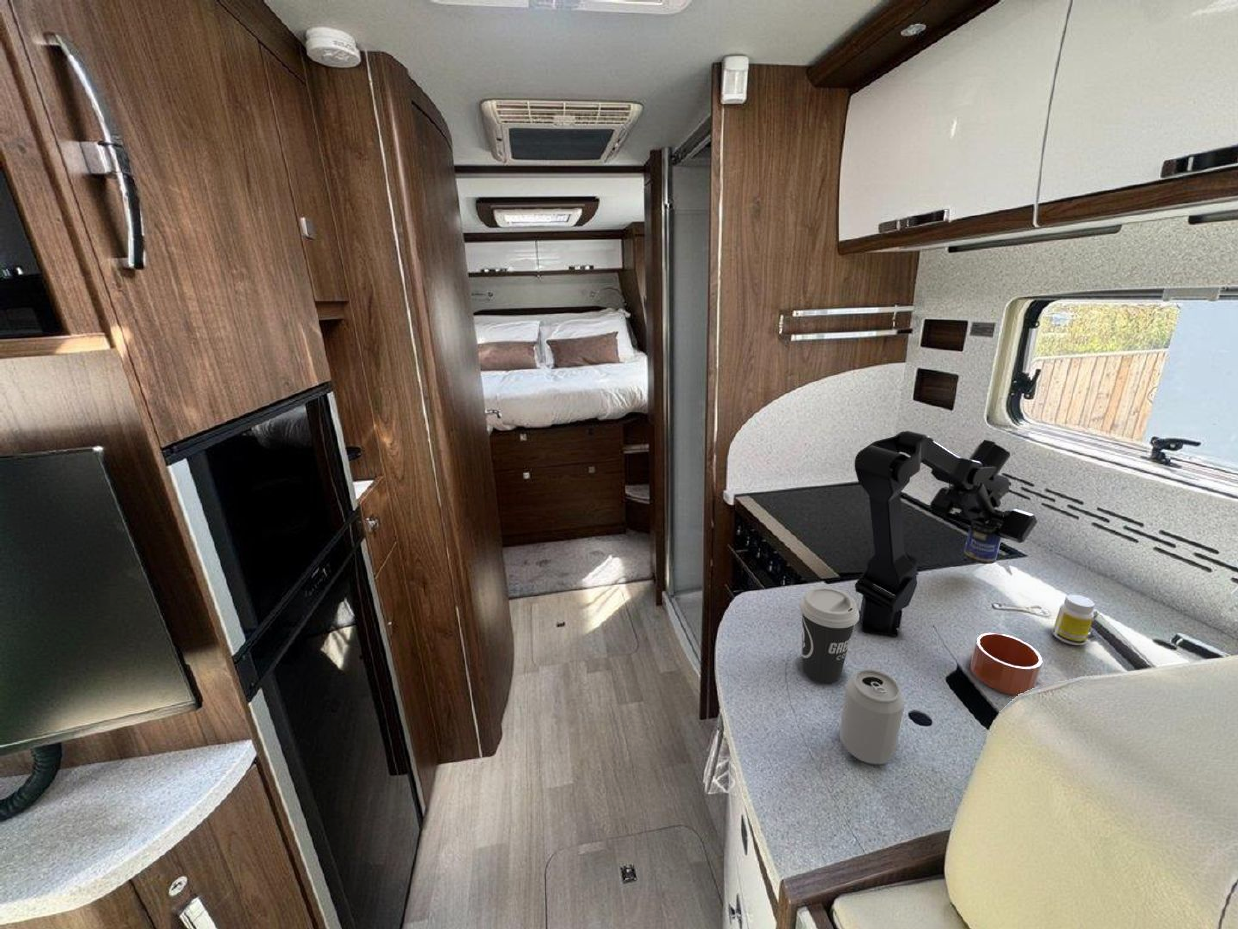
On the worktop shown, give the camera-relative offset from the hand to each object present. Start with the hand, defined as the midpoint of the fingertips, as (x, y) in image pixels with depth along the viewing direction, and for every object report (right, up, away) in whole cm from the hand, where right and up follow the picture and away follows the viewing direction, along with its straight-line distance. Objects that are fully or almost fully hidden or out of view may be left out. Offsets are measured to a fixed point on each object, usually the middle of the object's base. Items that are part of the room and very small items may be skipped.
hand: (989, 530), depth 113 cm
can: (-47, -28, -37) cm, 66 cm away
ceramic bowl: (-17, -22, -25) cm, 38 cm away
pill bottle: (-1, -7, +2) cm, 7 cm away
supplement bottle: (+2, -18, -17) cm, 25 cm away
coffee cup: (-47, -22, -23) cm, 57 cm away
